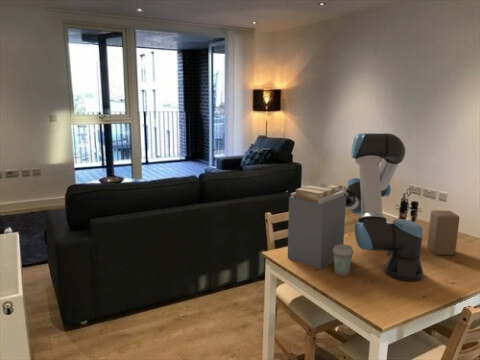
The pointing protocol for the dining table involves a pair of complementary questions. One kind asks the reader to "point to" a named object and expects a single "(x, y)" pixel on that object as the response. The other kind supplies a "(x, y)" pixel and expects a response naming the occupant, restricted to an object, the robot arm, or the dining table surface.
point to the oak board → (316, 192)
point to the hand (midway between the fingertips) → (330, 186)
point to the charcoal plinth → (315, 229)
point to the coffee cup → (342, 259)
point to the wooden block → (443, 232)
